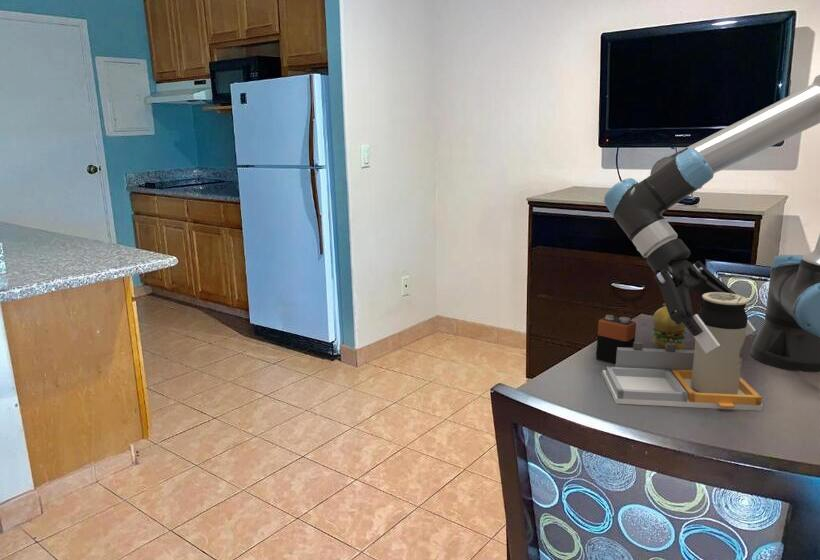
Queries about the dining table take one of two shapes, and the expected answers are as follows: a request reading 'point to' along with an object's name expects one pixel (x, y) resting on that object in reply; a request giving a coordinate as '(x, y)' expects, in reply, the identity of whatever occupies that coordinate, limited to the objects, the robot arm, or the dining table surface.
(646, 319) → the dining table surface
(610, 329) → the battery
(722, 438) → the dining table surface
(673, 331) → the hamburger
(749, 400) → the grey orange flat box
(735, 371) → the travel mug
